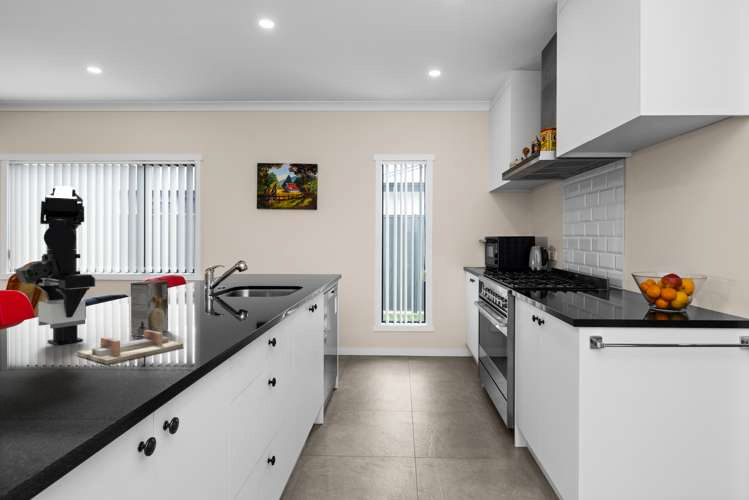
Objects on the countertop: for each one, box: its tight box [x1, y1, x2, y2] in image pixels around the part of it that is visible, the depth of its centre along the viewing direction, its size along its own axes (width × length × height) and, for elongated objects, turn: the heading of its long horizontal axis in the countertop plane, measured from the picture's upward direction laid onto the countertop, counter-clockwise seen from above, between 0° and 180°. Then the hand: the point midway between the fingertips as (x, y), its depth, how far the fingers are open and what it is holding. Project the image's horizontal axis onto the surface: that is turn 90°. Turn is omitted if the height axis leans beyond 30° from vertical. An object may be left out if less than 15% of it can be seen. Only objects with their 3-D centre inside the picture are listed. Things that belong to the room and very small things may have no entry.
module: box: [37, 299, 86, 330], centre depth 104 cm, size 7×7×6 cm
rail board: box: [76, 330, 184, 365], centre depth 115 cm, size 14×20×4 cm
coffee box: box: [130, 280, 169, 335], centre depth 137 cm, size 9×6×16 cm
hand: (62, 315), depth 104 cm, fingers closed on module, 7 cm apart
